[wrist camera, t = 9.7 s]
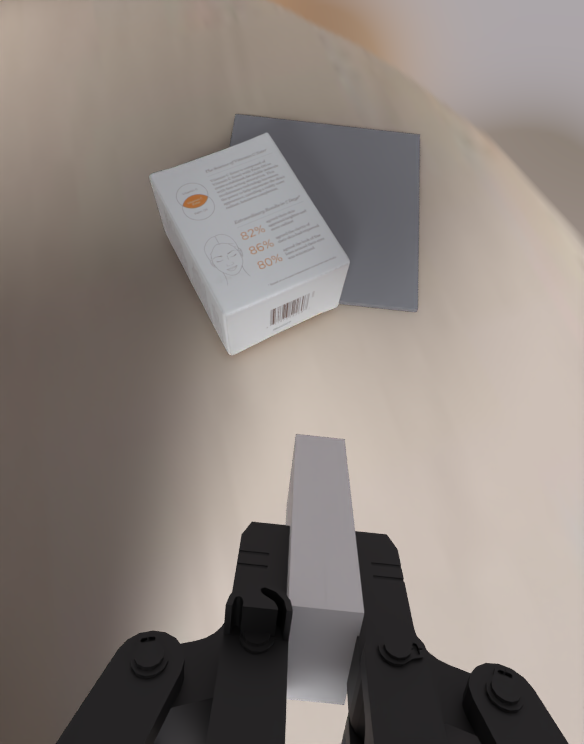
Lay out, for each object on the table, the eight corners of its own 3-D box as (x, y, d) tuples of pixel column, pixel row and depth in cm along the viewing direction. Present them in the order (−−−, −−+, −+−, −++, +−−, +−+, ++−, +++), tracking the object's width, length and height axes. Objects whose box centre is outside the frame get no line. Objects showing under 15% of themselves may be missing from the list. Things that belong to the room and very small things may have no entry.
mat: (205, 289, 36) (204, 286, 36) (235, 118, 42) (235, 113, 41) (416, 312, 36) (417, 309, 36) (418, 138, 42) (419, 134, 41)
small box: (340, 308, 36) (268, 189, 39) (353, 261, 30) (269, 128, 34) (227, 358, 34) (162, 230, 37) (220, 317, 29) (146, 172, 32)
